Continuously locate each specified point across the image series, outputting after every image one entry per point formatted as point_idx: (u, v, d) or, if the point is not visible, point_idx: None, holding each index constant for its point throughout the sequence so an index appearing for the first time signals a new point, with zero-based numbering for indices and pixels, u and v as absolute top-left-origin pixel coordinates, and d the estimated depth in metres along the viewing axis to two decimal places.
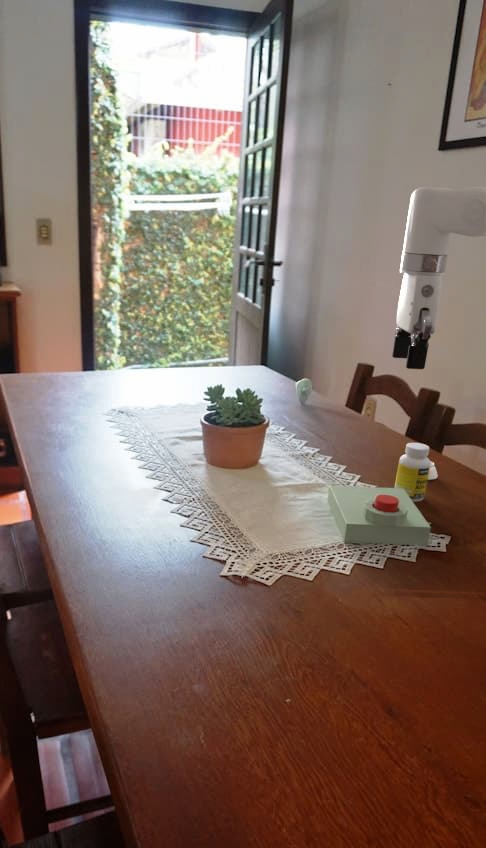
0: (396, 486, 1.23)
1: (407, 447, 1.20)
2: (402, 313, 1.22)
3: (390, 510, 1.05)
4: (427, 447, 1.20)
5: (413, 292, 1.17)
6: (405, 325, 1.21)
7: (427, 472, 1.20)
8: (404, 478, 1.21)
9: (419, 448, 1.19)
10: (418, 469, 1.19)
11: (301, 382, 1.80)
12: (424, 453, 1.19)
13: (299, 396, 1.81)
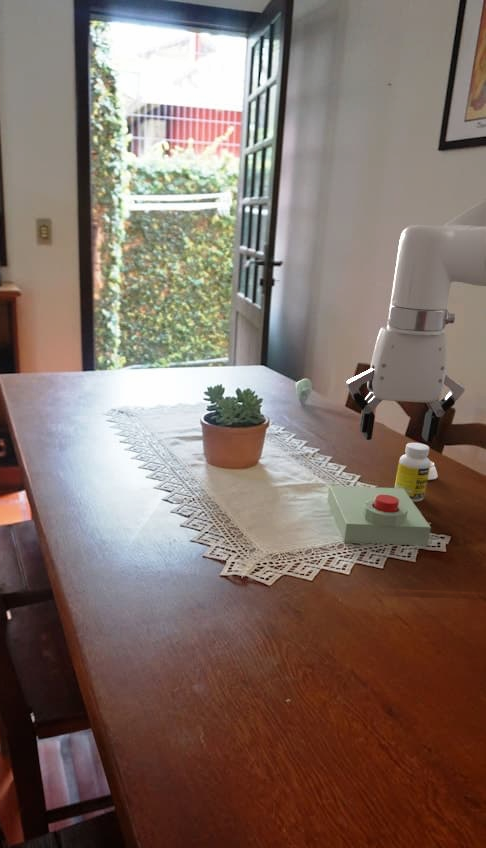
0: (396, 486, 1.23)
1: (407, 447, 1.20)
2: (411, 382, 0.97)
3: (390, 510, 1.05)
4: (427, 447, 1.20)
5: (443, 355, 0.95)
6: (424, 395, 0.98)
7: (427, 472, 1.20)
8: (404, 478, 1.21)
9: (419, 448, 1.19)
10: (418, 469, 1.19)
11: (301, 382, 1.80)
12: (424, 453, 1.19)
13: (299, 396, 1.81)
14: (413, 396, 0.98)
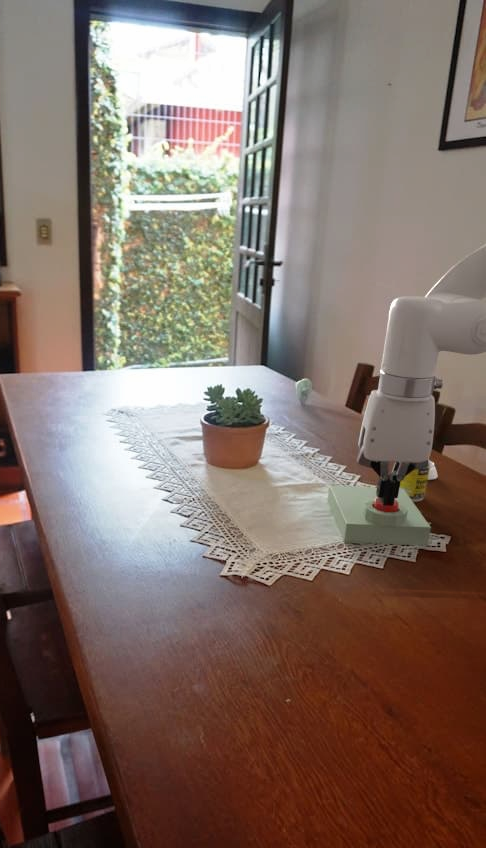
0: None
1: None
2: (401, 445, 1.00)
3: None
4: None
5: (431, 420, 0.99)
6: (413, 456, 1.01)
7: (427, 472, 1.20)
8: (404, 478, 1.21)
9: None
10: (418, 469, 1.19)
11: (301, 382, 1.80)
12: None
13: (299, 396, 1.81)
14: (402, 457, 1.01)
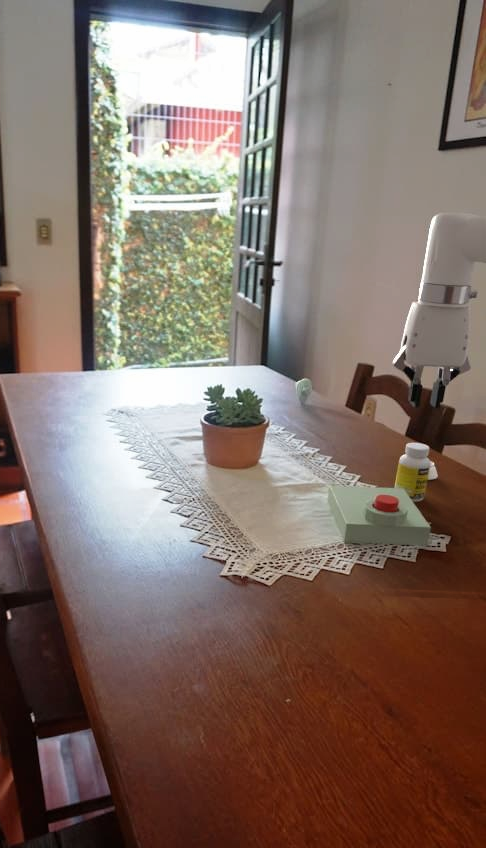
0: (396, 486, 1.23)
1: (407, 447, 1.20)
2: (439, 349, 1.12)
3: (390, 510, 1.05)
4: (427, 447, 1.20)
5: (467, 326, 1.10)
6: (450, 360, 1.12)
7: (427, 472, 1.20)
8: (404, 478, 1.21)
9: (419, 448, 1.19)
10: (418, 469, 1.19)
11: (301, 382, 1.80)
12: (424, 453, 1.19)
13: (299, 396, 1.81)
14: (441, 361, 1.13)
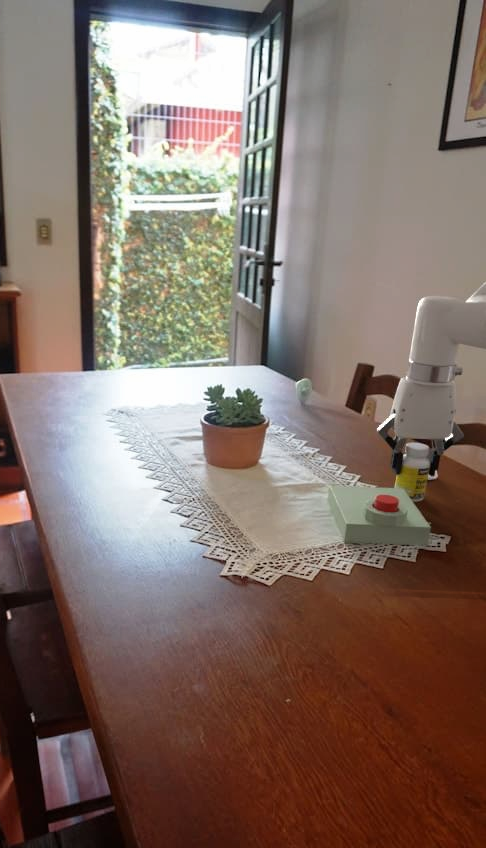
0: (396, 486, 1.23)
1: (407, 447, 1.20)
2: (426, 423, 1.16)
3: (390, 510, 1.05)
4: (427, 447, 1.20)
5: (452, 402, 1.15)
6: (437, 433, 1.17)
7: (427, 472, 1.20)
8: (404, 478, 1.21)
9: (419, 448, 1.19)
10: (418, 469, 1.19)
11: (301, 382, 1.80)
12: (424, 453, 1.19)
13: (299, 396, 1.81)
14: (428, 434, 1.17)
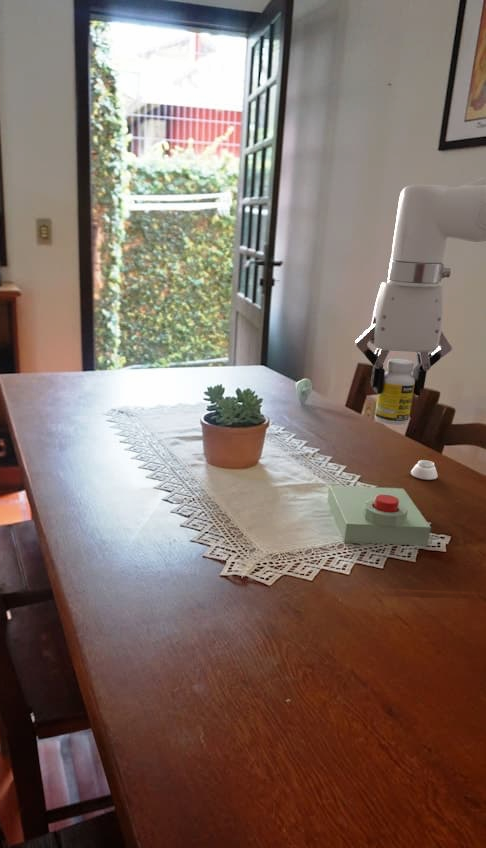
0: (377, 408, 1.10)
1: (389, 362, 1.08)
2: (410, 333, 1.04)
3: (390, 510, 1.05)
4: (411, 362, 1.07)
5: (439, 307, 1.03)
6: (422, 345, 1.05)
7: (411, 390, 1.08)
8: (386, 398, 1.08)
9: (402, 362, 1.07)
10: (401, 386, 1.07)
11: (301, 382, 1.80)
12: (407, 368, 1.06)
13: (299, 396, 1.81)
14: (412, 346, 1.05)
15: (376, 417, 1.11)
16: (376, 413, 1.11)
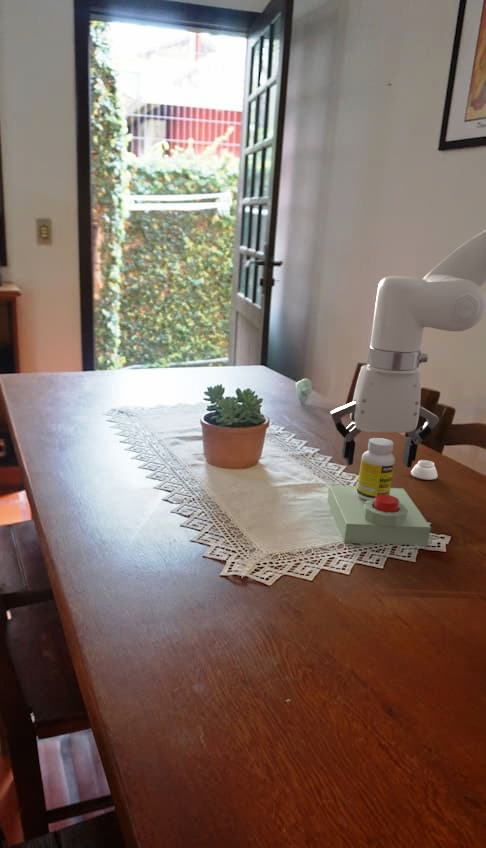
0: (359, 485, 1.14)
1: (369, 442, 1.11)
2: (389, 415, 1.07)
3: (390, 510, 1.05)
4: (391, 442, 1.11)
5: (417, 391, 1.06)
6: (401, 426, 1.08)
7: (391, 470, 1.11)
8: (367, 476, 1.12)
9: (382, 444, 1.10)
10: (381, 466, 1.10)
11: (301, 382, 1.80)
12: (387, 449, 1.10)
13: (299, 396, 1.81)
14: (391, 427, 1.08)
15: (357, 493, 1.14)
16: (357, 489, 1.14)
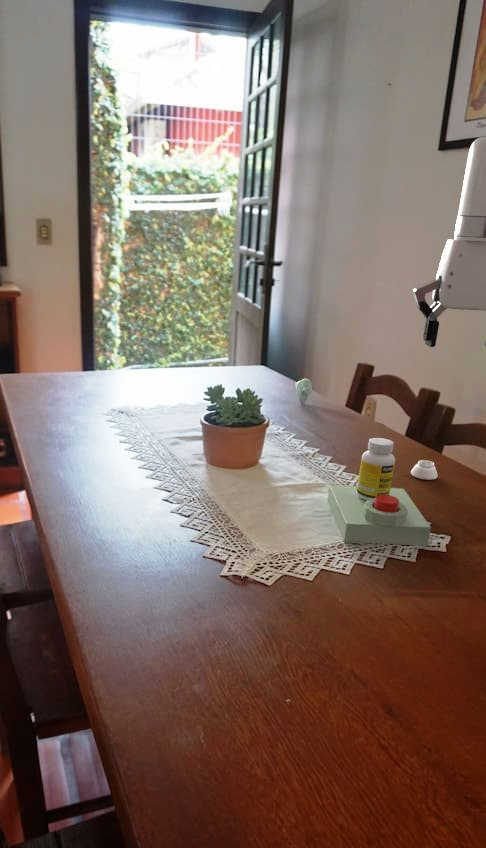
0: (359, 485, 1.14)
1: (369, 442, 1.11)
2: (477, 290, 1.02)
3: (390, 510, 1.05)
4: (391, 442, 1.11)
5: None
6: None
7: (391, 470, 1.11)
8: (367, 476, 1.12)
9: (382, 444, 1.10)
10: (381, 466, 1.10)
11: (301, 382, 1.80)
12: (387, 449, 1.10)
13: (299, 396, 1.81)
14: (478, 304, 1.03)
15: (357, 493, 1.14)
16: (357, 489, 1.14)
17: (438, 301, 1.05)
